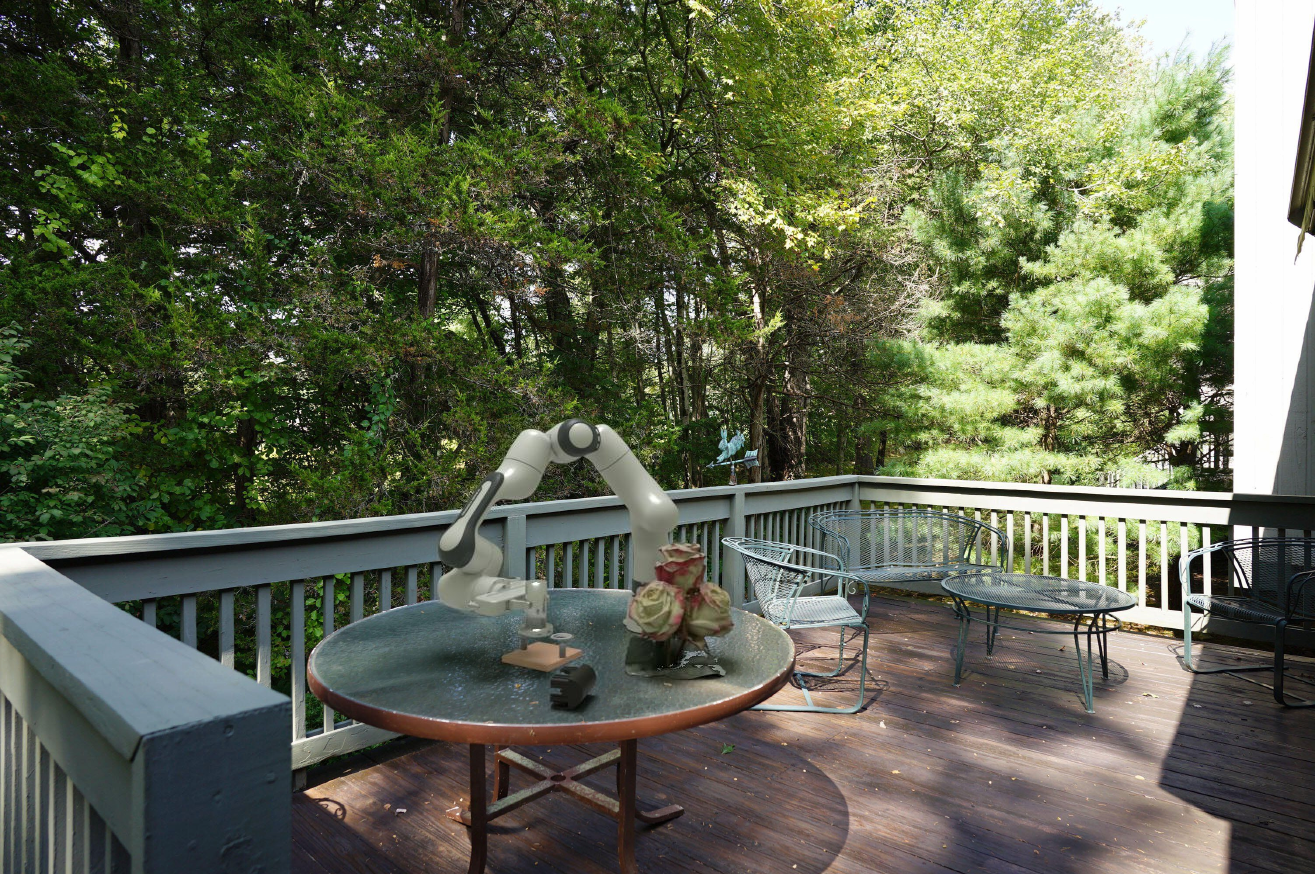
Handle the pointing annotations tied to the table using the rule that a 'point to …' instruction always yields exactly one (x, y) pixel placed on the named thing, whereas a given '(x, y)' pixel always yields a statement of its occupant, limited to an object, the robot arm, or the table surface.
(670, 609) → the rose bouquet
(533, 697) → the table surface
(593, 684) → the end cap
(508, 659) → the locating plate
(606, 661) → the table surface
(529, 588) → the hub
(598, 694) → the table surface
